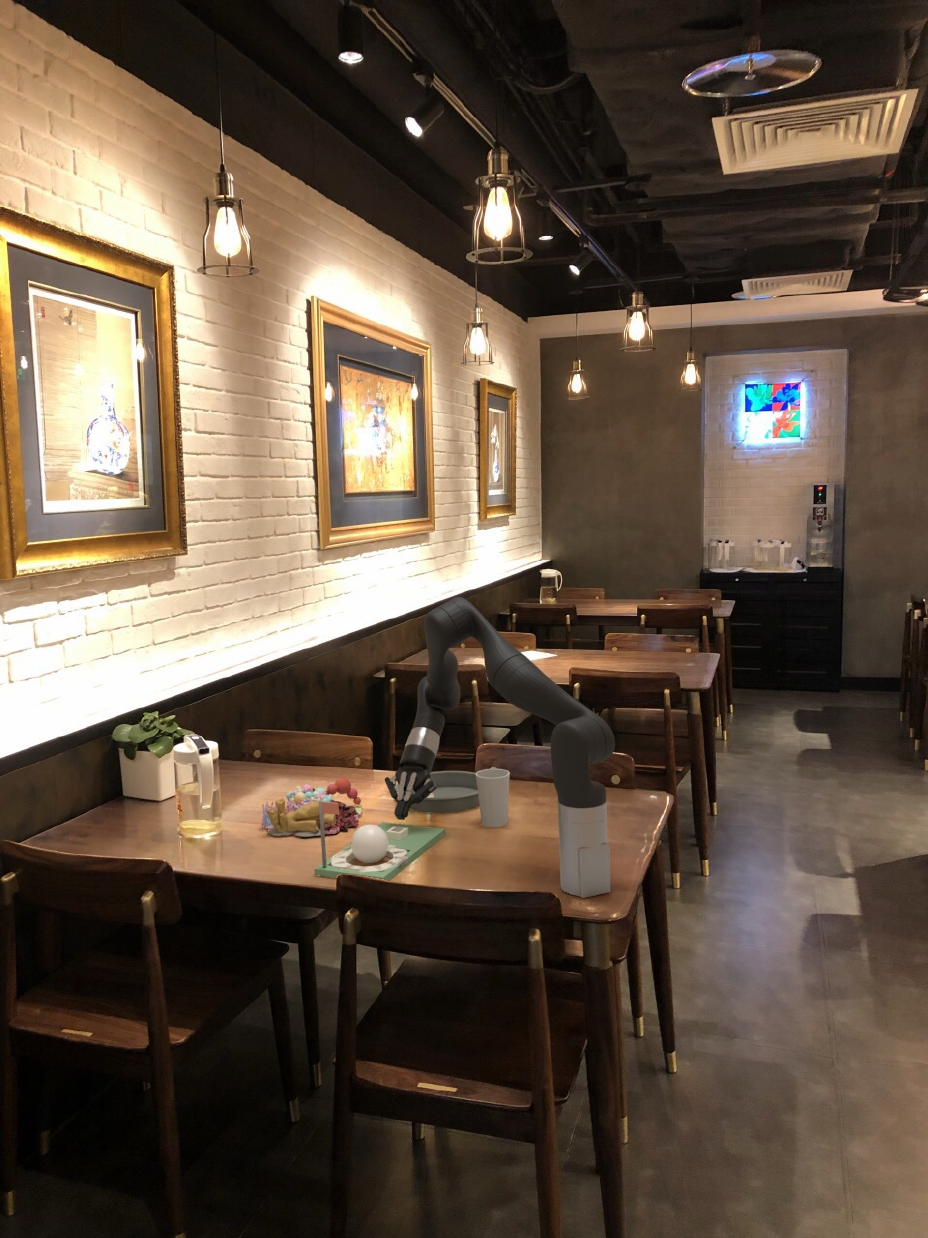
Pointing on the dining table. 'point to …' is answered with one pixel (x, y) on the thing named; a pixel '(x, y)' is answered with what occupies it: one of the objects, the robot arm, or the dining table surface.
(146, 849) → the dining table surface
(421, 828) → the mini golf board
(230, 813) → the dining table surface
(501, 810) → the cup
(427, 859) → the dining table surface
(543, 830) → the dining table surface
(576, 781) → the robot arm
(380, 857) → the ball
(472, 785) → the round baking tin
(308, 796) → the coral reef model
